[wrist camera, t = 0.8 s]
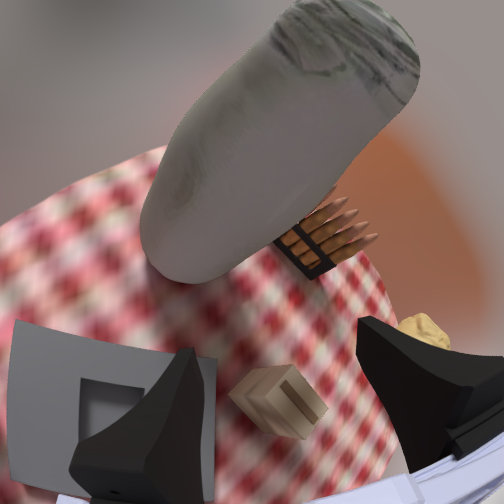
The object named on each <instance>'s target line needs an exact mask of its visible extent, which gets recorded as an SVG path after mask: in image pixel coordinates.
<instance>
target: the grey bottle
mask: <svg viewBox="0 0 504 504" xmlns="http://www.w3.org/2000/svg"><path fill="white" fill-rule="evenodd" d="M419 77H420V61H419V55H418V52H417V49H416V47H415V44H414V42H413V40H412V38H411V37H410V36H409V35H408V33H407V32H406V31H405V30H404V29H403V28H402V26H401V25H400V24H399V23H398V22H397V20H396V19H395V18H394V17H393V16H391V15H390V14H389V13H387V12H386V11H385V10H383V9H382V8H380V7H379V6H378V5H376V4H375V3H373V2H372V1H370V0H297V1H296V2H294V3H293V4H291V5H290V6H289V7H288V8H286V9H285V10H284V11H283V12H282V13H281V14H280V15H279V16H278V17H277V18H276V20H275V21H274V22H273V23H272V24H271V26H270V27H269V28H268V29H267V30H266V31H265V33H264V34H263V35H262V36H261V37H260V38H259V39H258V40H257V41H256V42H255V43H254V44H253V45H252V47H250V49H249V50H248V51H247V52H246V53H245V54H244V55H243V56H242V57H241V58H240V59H239V60H238V61H237V62H236V63H235V64H233V65H232V66H231V67H230V68H229V69H228V70H227V71H226V72H224V73H223V74H222V75H221V76H220V77H219V78H218V79H217V80H216V81H215V82H214V83H213V84H212V85H211V86H210V87H209V88H208V89H207V90H206V91H205V92H204V93H203V95H202V96H201V97H200V98H199V99H198V100H197V101H196V102H195V103H194V104H193V106H192V107H191V108H190V109H189V110H188V112H187V113H186V114H185V116H184V117H183V119H182V121H181V122H180V124H179V125H178V127H177V129H176V130H175V132H174V134H173V136H172V138H171V140H170V142H169V144H168V147H167V149H166V151H165V153H164V156H163V158H162V160H161V163H160V165H159V168H158V171H157V173H156V176H155V178H154V181H153V183H152V186H151V188H150V190H149V192H148V195H147V197H146V200H145V202H144V205H143V208H142V211H141V215H140V239H141V244H142V249H143V251H144V252H145V254H146V256H147V258H148V260H149V261H150V263H151V264H152V265H153V266H154V267H155V268H156V269H157V270H158V271H159V272H160V273H161V274H162V275H163V276H164V277H166V278H168V279H170V280H173V281H177V282H181V283H187V284H200V283H205V282H208V281H211V280H214V279H216V278H218V277H220V276H222V275H223V274H225V273H227V272H228V271H230V270H231V269H233V268H234V267H236V266H237V265H238V264H240V263H241V262H243V261H244V260H245V259H247V258H248V257H250V256H251V255H253V254H254V253H256V252H257V251H259V250H260V249H262V248H263V247H265V246H267V245H268V244H270V243H271V242H272V241H274V240H275V239H277V238H278V237H280V236H281V235H282V234H284V233H285V232H286V231H288V230H289V229H290V228H292V227H293V226H294V225H295V224H297V223H298V222H299V221H300V220H301V219H303V218H304V217H305V216H306V215H307V214H309V213H310V212H311V211H312V210H313V209H314V208H315V207H316V206H317V205H318V204H319V203H320V201H321V200H322V199H323V198H324V197H325V195H326V194H327V193H328V192H329V191H330V190H331V188H332V187H333V186H334V184H335V183H336V182H337V181H338V179H339V178H340V177H341V175H342V174H343V173H344V171H345V170H346V169H347V167H348V166H349V165H350V164H351V162H352V161H353V160H354V158H355V157H356V156H357V155H358V154H359V153H360V152H361V151H362V150H363V149H364V148H365V147H366V145H367V144H368V143H369V142H370V141H371V140H372V139H373V138H374V137H375V136H376V135H377V134H378V133H379V132H380V131H381V130H382V129H383V128H384V127H385V126H386V125H387V124H388V123H389V122H390V121H391V120H392V119H393V118H394V117H395V116H396V115H397V114H398V113H400V111H401V110H402V109H403V108H404V107H405V106H406V105H407V103H408V102H409V101H410V99H411V97H412V96H413V94H414V92H415V90H416V88H417V85H418V82H419Z"/></svg>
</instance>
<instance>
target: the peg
mask: <svg viewBox="0 0 504 504" xmlns="http://www.w3.org/2000/svg"><path fill="white" fill-rule="evenodd" d="M227 395H228V396H229V397H230V398H231V399H232V400H233V401H234V403H235V404H236V405H237V406H238V407H239V408H240V409H241V410H242V411H243V412H244V413H245V414H246V415H247V417H248V418H249V419H250V420H251V421H252V422H253V423H254V424H255V425H256V426H257V427H258V428H259V429H260V430H261V431H262V432H264V433H269V434H274V435H279V436H284V437H290V438H295V439H302V440H306V438H307V437H308V436H309V434H310V433H311V432H312V430H313V429H314V428H315V426H316V425H317V424H318V422H319V421H320V419H321V418H322V417H323V415H324V414H325V412H326V411H327V410H328V407H327V405H326V404H325V403H324V402H323V401H322V399H321V398H320V397H319V396H318V394H317V393H316V392H315V391H314V390H313V388H312V387H311V386H310V385H309V383H308V382H307V381H306V380H305V379H304V377H303V376H302V375H301V374H300V372H299V371H298V370H297V369H296V367H295V366H294V365H293V364H291V365H283V366H275V367H266V368H256V369H252V370H251V371H250V372H249V373H248V374H247V375H246V376H245V377H244V378H243V379H242V380H241V381H240V382H239V383H238V384H237V385H236V386H235V387H234V388H233V389H232V390H231V391H230V392H229V393H228V394H227Z"/></svg>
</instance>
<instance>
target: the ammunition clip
mask: <svg viewBox="0 0 504 504" xmlns="http://www.w3.org/2000/svg"><path fill="white" fill-rule="evenodd" d="M336 186H337V185H336V184H334V186H333V187H332V188H331V190H330V191H329V192H328V193H327V194H326V195H325V197H324V198H323V199H322V200H321V201H320V203H319V204H318V205H317V206H316V207H315V208H314V209H313V210H312V211H311V212H310V213H312V212H313V211H314V210H315V209H316V208H317V207H318V206H319V205H320V204H321V203H322V202H323V201H325V200H326V199H327V198H328V197H329V196H330V195H331V194H332V193H333V192H334V190H335V189H336ZM347 200H348V198H347V197H344V198H340V199H337V200H335V201H333V202H331V203H330V204H328V205H327V206H325V207H324V208H322V209H319V210H317V211H315V212H314V213H312V214H311V215H310V216H308V215H309V214H310V213H309V214H307V215H306V216H308V217H307V218H305V217H306V216H305V217H304V218H303V219H301V220H300V221H299V223H298V224H295V225H294V226H293V227H292V228H291V229H290V230H288V231H287V232H285V233H284V234H282V235H281V236H280V237H278V238H277V239H275V240H274V241H272V242H273V243H274V244H275V245H276V246H277V247H278V248H279V249H280V250H281V251H282V252H283V253H284V254H285V255H286V256H287V257H288V258H289V259H290V260H291V261H292V262H293V263H294V264H295V265H296V266H297V267H298V268H299V269H300V270H301V271H302V272H303V273H304V274H305V275H306V276H307V278H308V279H309V280H313V279H315V278H316V277H318V276H320V275H322V274H324V273H325V272H327V271H329V270H331V269H332V268H334V267H336V266H337V264H339V263H341V262H343V261H344V260H346V259H348V258H350V257H352V256H354V255H355V254H356V253H357V252H359V251H361V250H362V249H364V248H365V247H367V246H369V245H370V244H371V243H373V242H374V241H375V239H376V238H377V237H378V236H379V234H370V235H367V236H364V237H362V238H360V239H358V240H356V241H353V242H351V243H347V242H348V241H349V240H351V239H353V238H354V237H355V236H357V235H359V234H360V233H361V232H362V231H363V230H364V229H365V228H366V227H367V226H368V224H369V222H362V223H358V224H356V225H353V226H351V227H350V228H348V229H345V230H343V231H341V232H338V233H336V232H337V231H338V230H339V229H341V228H342V227H343V226H344V225H346V224H348V223H349V222H350V221H351V220H352V219H353V218H354V217H355V216H356V215H357V214H358V212H359V210H351V211H348V212H346V213H344V214H342V215H340V216H339V217H337V218H335V219H333V220H331V221H328V222H326V223H324V222H325V221H326V220H327V219H328V218H330V217H331V216H332V215H333V214H335V213H336V212H337V211H338V210H340V209H341V208H342V207H343V206H344V205H345V203H346V202H347ZM323 223H324V224H323ZM322 224H323V225H322ZM320 225H321V226H320ZM319 226H320V227H319ZM317 227H318V228H317ZM308 233H309V234H308ZM335 233H336V234H335ZM330 236H331V237H330ZM346 243H347V244H346Z"/></svg>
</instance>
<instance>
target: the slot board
mask: <svg viewBox="0 0 504 504" xmlns="http://www.w3.org/2000/svg"><path fill="white" fill-rule="evenodd" d="M175 355H176V354H173V353H166V352H159V351H153V350H147V349H141V348H135V347H129V346H124V345H119V344H114V343H109V342H104V341H99V340H94V339H90V338H85V337H81V336H77V335H72V334H68V333H64V332H60V331H57V330H53V329H49V328H45V327H42V326H38V325H35V324H31V323H28V322H24V321H21V320H18V319H15V325H14V331H13V338H12V345H11V352H10V361H9V372H8V385H7V448H8V461H9V471H10V479H11V480H13V481H16V482H20V483H23V484H27V485H30V486H34V487H38V488H42V489H46V490H50V491H55V492H59V493H64V494H69V495H75V496H81V497H88V498H91V497H92V496H90V495H89V494H88V493H87V492H86V491H85V490H84V489H83V488H82V487H80V486H79V485H78V484H77V483H76V482H75V481H74V480H73V478H72V477H71V476H70V474H69V471H68V469H69V465H70V463H71V460H72V457H73V454H74V451H75V449H76V446H77V444H78V443H79V442H81V441H83V440H85V439H87V438H89V437H91V436H93V435H95V434H97V433H99V432H100V431H102V430H104V429H105V428H107V427H108V426H110V425H111V424H113V423H114V422H116V421H117V420H118V419H120V418H121V417H122V416H123V415H125V414H126V413H127V412H128V411H129V410H131V409H132V408H133V407H134V406H135V405H136V404H137V403H138V402H139V401H140V400H141V399H142V398H143V397H144V396H145V395H146V394H147V393H148V392H149V390H150V389H151V388H152V387H153V385H154V384H155V383H156V382H157V381H158V379H159V378H160V376H161V375H162V374H163V372H164V371H165V370H166V368H167V367H168V365H169V364H170V362H171V361H172V359H173V358H174V356H175ZM196 358H197V361H198V364H199V367H200V371H201V374H202V377H203V380H204V392H205V404H204V415H203V425H202V435H201V472H202V487H203V497H204V501H214V443H215V402H216V373H217V359H214V358H205V357H196Z"/></svg>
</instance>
